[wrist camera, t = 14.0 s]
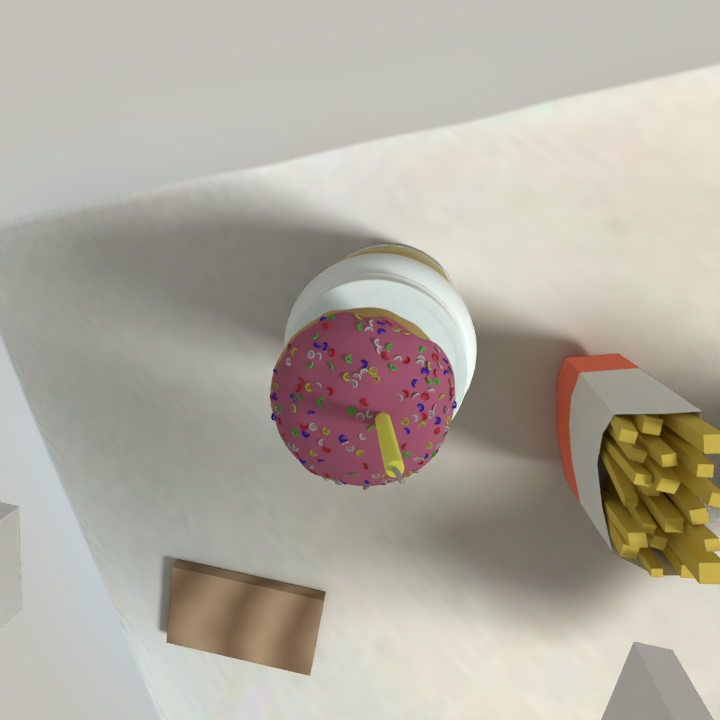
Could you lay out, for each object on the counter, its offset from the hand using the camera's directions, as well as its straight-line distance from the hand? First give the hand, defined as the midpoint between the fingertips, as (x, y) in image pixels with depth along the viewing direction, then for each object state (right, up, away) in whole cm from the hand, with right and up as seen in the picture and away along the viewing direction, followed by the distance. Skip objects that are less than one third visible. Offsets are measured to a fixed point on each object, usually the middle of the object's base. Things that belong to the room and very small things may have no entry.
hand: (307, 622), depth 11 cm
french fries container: (+20, +1, +34) cm, 39 cm away
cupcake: (+2, +5, +17) cm, 18 cm away
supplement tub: (+4, +10, +33) cm, 35 cm away
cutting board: (-11, -22, +44) cm, 50 cm away
